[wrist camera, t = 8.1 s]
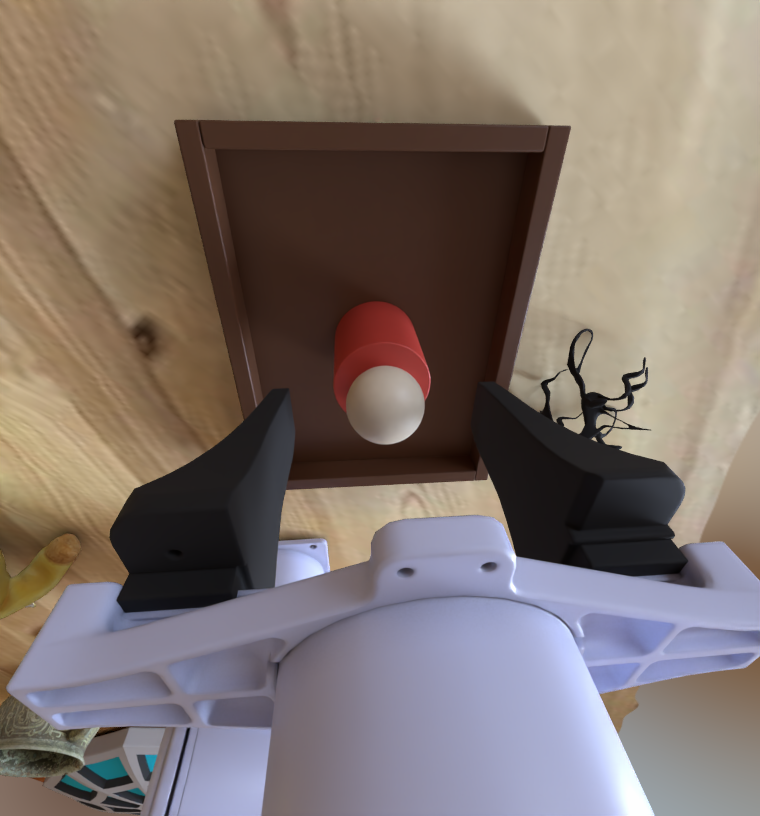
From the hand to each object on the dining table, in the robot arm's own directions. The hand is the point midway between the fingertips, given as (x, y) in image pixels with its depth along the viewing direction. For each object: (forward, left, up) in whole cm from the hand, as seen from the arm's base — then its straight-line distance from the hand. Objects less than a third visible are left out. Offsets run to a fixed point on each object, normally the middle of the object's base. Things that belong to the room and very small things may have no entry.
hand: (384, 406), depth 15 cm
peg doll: (0, 0, -6) cm, 6 cm away
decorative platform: (-27, -64, -6) cm, 70 cm away
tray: (0, 0, -6) cm, 6 cm away
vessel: (-30, -37, -7) cm, 48 cm away
